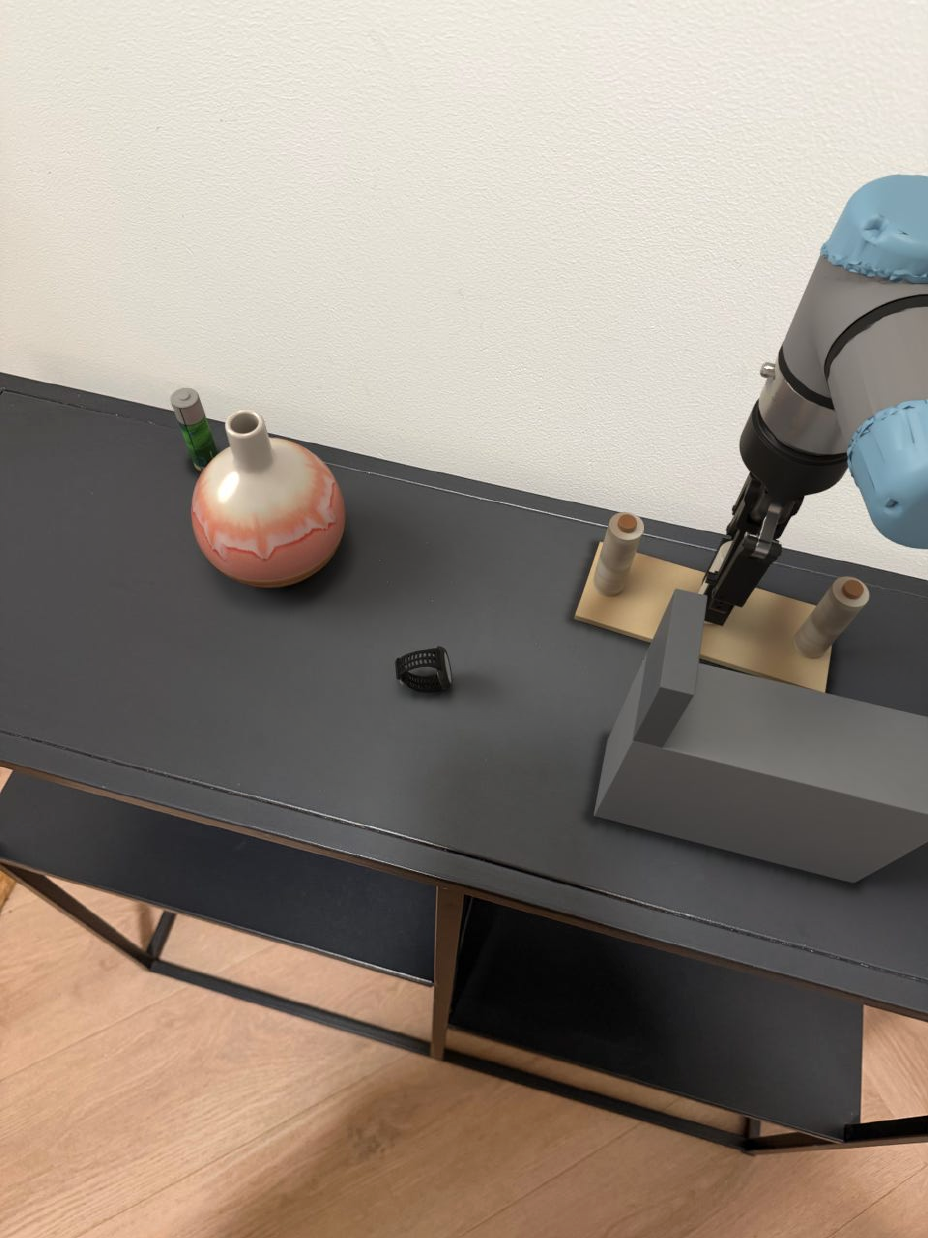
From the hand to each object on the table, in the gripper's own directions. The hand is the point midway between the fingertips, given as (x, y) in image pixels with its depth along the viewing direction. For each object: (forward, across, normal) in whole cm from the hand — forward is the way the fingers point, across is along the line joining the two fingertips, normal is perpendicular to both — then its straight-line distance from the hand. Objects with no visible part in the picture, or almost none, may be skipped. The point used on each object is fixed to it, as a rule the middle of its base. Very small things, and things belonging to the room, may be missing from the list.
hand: (712, 602), depth 76 cm
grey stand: (+3, +18, +5) cm, 19 cm away
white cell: (+2, 0, 0) cm, 2 cm away
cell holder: (+3, 0, 0) cm, 3 cm away
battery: (+3, 0, -52) cm, 52 cm away
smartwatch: (+3, +15, -22) cm, 27 cm away
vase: (+3, +7, -40) cm, 41 cm away
